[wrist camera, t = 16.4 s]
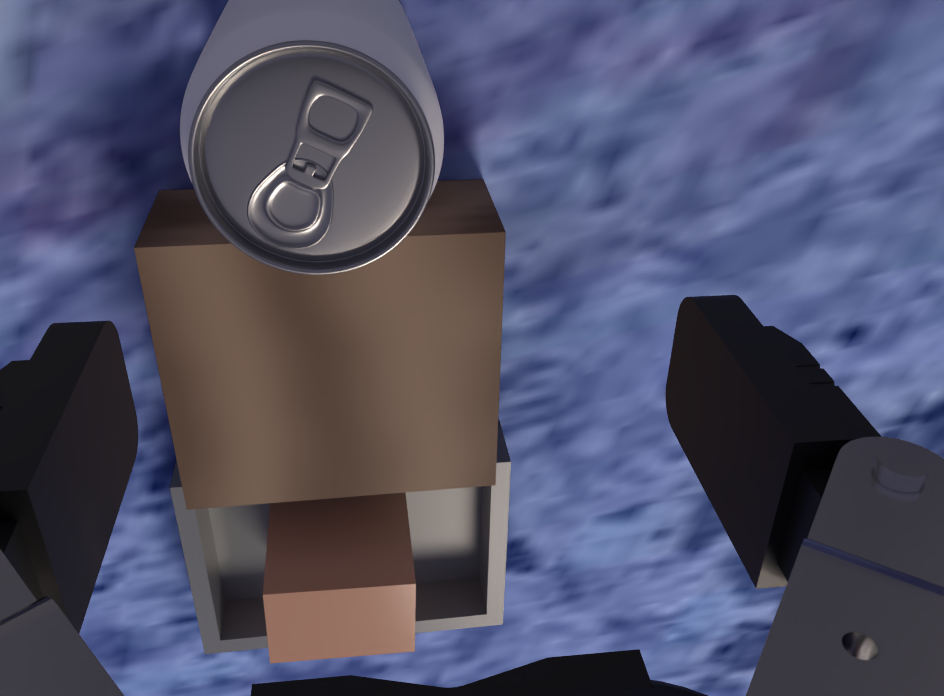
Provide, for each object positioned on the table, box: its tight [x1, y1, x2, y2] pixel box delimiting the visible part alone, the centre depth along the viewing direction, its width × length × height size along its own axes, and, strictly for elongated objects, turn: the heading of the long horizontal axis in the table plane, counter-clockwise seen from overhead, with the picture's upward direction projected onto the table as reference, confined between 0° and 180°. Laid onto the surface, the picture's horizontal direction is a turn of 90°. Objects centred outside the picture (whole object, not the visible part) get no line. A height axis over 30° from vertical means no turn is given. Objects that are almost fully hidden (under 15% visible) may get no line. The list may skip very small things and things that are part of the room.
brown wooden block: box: [134, 179, 506, 510], centre depth 34 cm, size 12×11×5 cm
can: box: [180, 0, 444, 275], centre depth 25 cm, size 6×6×12 cm
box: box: [170, 420, 511, 654], centre depth 40 cm, size 14×10×3 cm
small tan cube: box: [263, 492, 416, 663], centre depth 38 cm, size 6×6×4 cm
